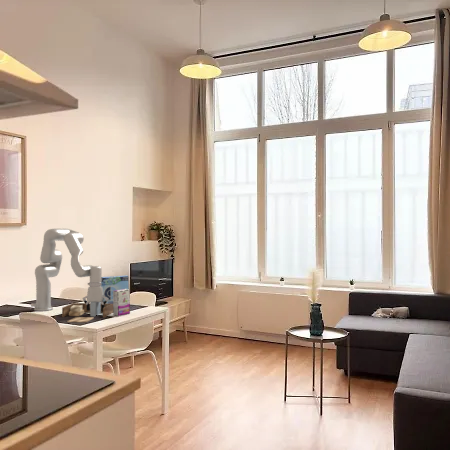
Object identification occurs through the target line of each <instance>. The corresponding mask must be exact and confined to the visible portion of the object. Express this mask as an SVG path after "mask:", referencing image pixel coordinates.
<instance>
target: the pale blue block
mask: <svg viewBox="0 0 450 450" xmlns="http://www.w3.org/2000/svg"><path fill="white" fill-rule="evenodd" d="M89 313H90V314H89V315H90V316H89V317H97V316H99V315H101V314H102V312H101V302H90V312H89ZM96 315H97V316H96Z"/></svg>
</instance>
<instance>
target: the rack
mask: <svg viewBox="0 0 450 450" xmlns="http://www.w3.org/2000/svg"><path fill="white" fill-rule="evenodd" d="M89 304H90V303H89ZM73 305H83V310H84V313H90V310H89V311H87V309H86V303H85V302H72V303H70V304H68V305H65V306H63V307H61V308H62V309H61V310H62V311H61V317H62V318H64V317H67V316H69V312H70V311H71V307H72V306H73ZM101 305H102V304H101ZM101 313H102V318H106V317H108V316H110V315H112V314H113V304H110V303H105V307H104V308H103V311H101Z"/></svg>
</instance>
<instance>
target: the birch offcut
mask: <svg viewBox="0 0 450 450" xmlns="http://www.w3.org/2000/svg"><path fill="white" fill-rule="evenodd" d="M81 310H83V305H73V306H72V307H71V312H80V311H81Z"/></svg>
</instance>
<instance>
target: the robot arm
mask: <svg viewBox="0 0 450 450" xmlns="http://www.w3.org/2000/svg"><path fill="white" fill-rule="evenodd" d="M60 241H61V242H64V243H65V246H66V248H67V250H68V252H69V253H70V256H71V257H70V266H71V269H72V271H73V273H74V275H75V276H76V277H78V278H88V277H89V282H87V286H88V287H87V295H86V296H84V297H82V301H83V303H86V309H87V311H89V310H90V304H89V303H90V302H101V304H102V305H101V311H103V308H104V307H105V303H106V302H107V301H108V299H109V298H108V297H106V296H104V294H103V287H101V277H102V276H103V275H102V267H101V266H99V265H91V264H88V265H87V264H86V265H82V264H81V262H80V259H79V257H80V256H82V254H83V253H84V248H83V247H82V245H81V244H83V242H84V236H83V234H82V233H81V232H79V231H76V230H72V229H70V228H50V229H47V230H45V232H44V235H43V243H42V248H41V252H40V257H39V260H40V262H41V263H43V264H39V265H38V266H36V267H35V269H34V275H35V280H36V281H35V284H36V286H35V288H36V289H35V291H36V293H35V297H36V298H35V303H31V304H30V306H31V307H34V308H33V311H35V312H36V311H37V312H43V311H44V312H46V311H51V310H54V307H53V306H52V304H51V303H52V302H51V301H52V300H51V299H52V285H51V281H50V278H56V277H57V276H58V274H59V273H60V271H61V265H62V261H63V253H62V251H61V250H59V249H56V247H57V246H56V244H57V243H56V242H60ZM104 298H105V299H106V300H105V301H103V300H104Z"/></svg>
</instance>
